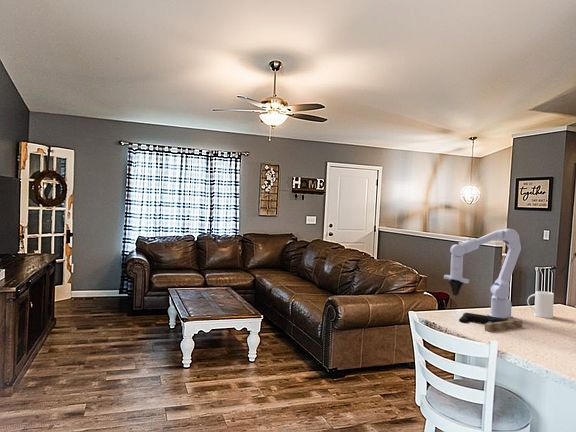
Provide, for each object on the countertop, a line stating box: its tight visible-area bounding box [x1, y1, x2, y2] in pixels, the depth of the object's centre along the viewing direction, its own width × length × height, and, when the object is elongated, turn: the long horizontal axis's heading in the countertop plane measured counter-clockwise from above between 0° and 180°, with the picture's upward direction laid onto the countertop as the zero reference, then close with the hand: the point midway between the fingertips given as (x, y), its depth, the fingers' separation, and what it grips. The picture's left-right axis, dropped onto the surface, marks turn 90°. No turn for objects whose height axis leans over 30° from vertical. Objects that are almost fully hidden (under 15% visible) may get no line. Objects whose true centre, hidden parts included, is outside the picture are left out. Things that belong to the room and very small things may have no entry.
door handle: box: [458, 312, 510, 325], centre depth 206 cm, size 3×20×16 cm
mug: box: [526, 290, 555, 319], centre depth 225 cm, size 12×8×12 cm
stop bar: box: [484, 318, 523, 333], centre depth 198 cm, size 22×2×3 cm, turn 116°
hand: (455, 295), depth 224 cm, fingers closed
